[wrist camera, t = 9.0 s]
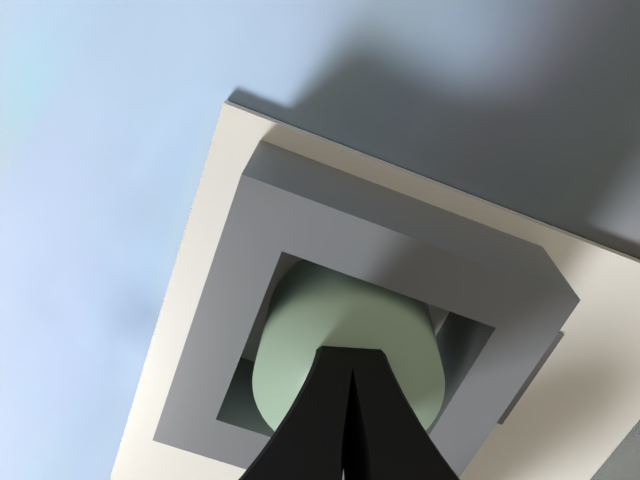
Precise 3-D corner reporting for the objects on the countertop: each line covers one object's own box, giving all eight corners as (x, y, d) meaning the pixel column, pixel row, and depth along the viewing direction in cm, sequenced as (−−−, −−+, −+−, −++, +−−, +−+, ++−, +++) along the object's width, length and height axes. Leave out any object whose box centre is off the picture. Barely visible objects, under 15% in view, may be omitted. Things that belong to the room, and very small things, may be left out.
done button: (389, 402, 15) (396, 481, 13) (248, 355, 15) (228, 427, 12) (456, 281, 13) (480, 346, 11) (300, 224, 13) (288, 279, 11)
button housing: (415, 451, 16) (426, 525, 14) (180, 374, 15) (152, 440, 13) (542, 246, 13) (580, 300, 11) (260, 139, 12) (241, 174, 10)
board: (418, 676, 21) (419, 689, 21) (79, 582, 20) (74, 594, 19) (730, 294, 14) (740, 303, 13) (225, 100, 12) (222, 104, 12)
